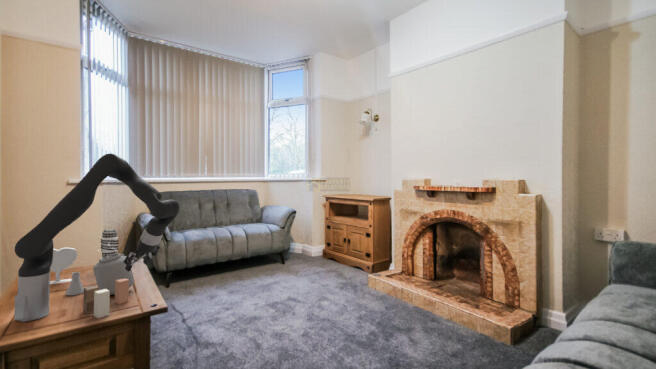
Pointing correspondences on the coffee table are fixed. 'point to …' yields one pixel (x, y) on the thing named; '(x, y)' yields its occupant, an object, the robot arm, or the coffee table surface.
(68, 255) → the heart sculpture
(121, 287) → the terracotta pillar
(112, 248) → the decorative candle
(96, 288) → the walnut pillar
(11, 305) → the coffee table surface
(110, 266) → the jar
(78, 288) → the flask
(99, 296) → the cream pillar
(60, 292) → the coffee table surface
